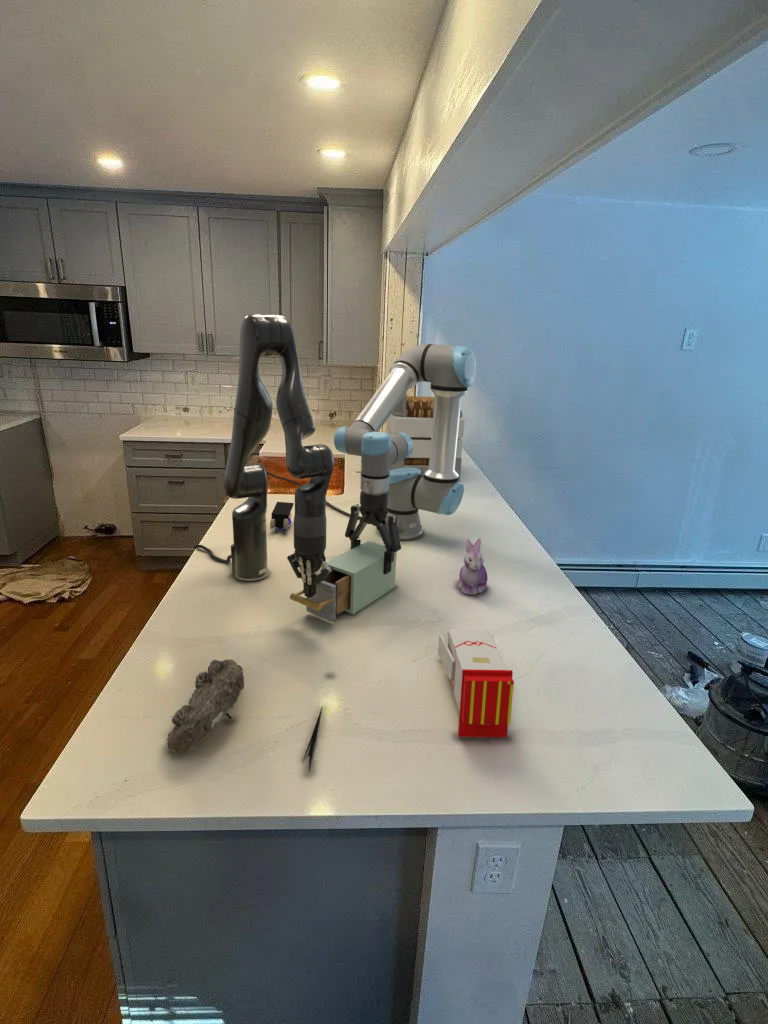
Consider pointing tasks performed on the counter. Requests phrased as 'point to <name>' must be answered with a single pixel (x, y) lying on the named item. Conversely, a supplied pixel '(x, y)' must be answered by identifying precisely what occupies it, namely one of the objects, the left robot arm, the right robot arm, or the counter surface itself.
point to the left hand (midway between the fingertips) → (309, 595)
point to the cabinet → (365, 573)
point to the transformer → (419, 430)
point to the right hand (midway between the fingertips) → (371, 567)
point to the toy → (478, 682)
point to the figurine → (473, 570)
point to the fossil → (206, 705)
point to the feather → (313, 740)
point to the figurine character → (281, 516)
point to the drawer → (328, 596)
